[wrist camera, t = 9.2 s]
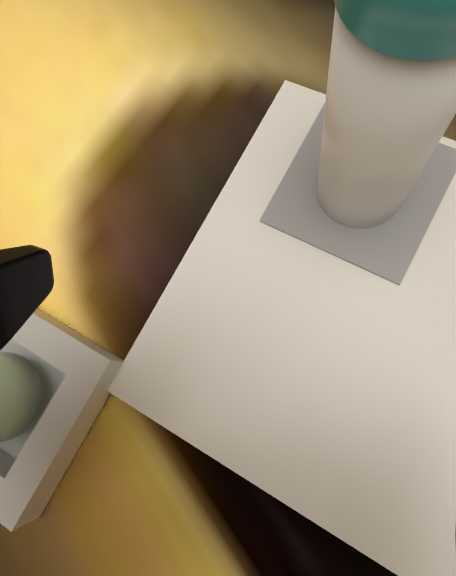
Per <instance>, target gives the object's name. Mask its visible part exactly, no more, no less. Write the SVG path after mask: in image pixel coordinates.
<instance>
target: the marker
mask: <svg viewBox="0 0 456 576" xmlns="http://www.w3.org/2000/svg"><path fill="white" fill-rule="evenodd" d="M334 2H335V16H334V25H333V35H332V44H331V54H330V64H329V73H328V83H327V93H326V102H325V112H324V122H323V131H322V141H321V150H320V160H319V170H318V179H317V196H318V200H319V203H320V205H321V207H322V209H323V210H324V211H325V213H326V214H327V215H328V216H329V217H330V218H332V219H333V220H334V221H336V222H338V223H340V224H342V225H344V226H348V227H352V228H369V227H374V226H377V225H379V224H382V223H384V222H385V221H387V220H389V219H390V218H391V217H392V216H393V215H394V214H395V213H396V212H397V211H398V209H399V208H400V206H401V205H402V203H403V201H404V200H405V198H406V196H407V195H408V193H409V191H410V190H411V188H412V186H413V185H414V183H415V181H416V180H417V178H418V176H419V175H420V173H421V171H422V169H423V168H424V166H425V164H426V163H427V161H428V159H429V158H430V156H431V154H432V153H433V151H434V149H435V148H436V146H437V144H438V143H439V141H440V139H441V138H442V136H443V134H444V132H445V131H446V129H447V127H448V126H449V124H450V122H451V121H452V119H453V117H454V116H455V114H456V0H334Z"/></svg>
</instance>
